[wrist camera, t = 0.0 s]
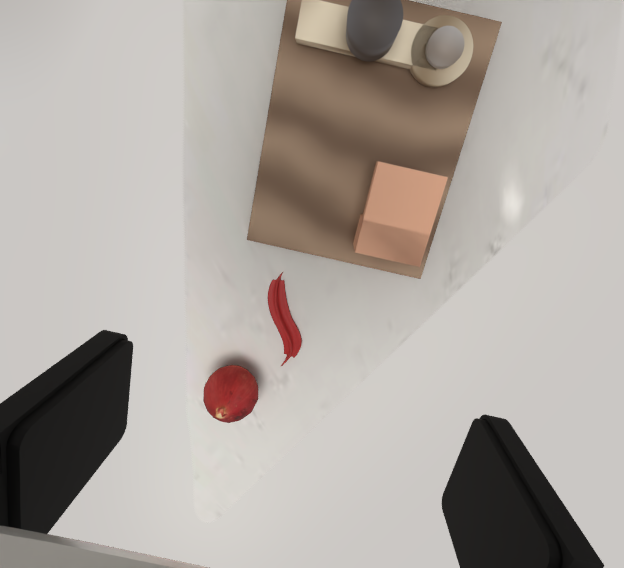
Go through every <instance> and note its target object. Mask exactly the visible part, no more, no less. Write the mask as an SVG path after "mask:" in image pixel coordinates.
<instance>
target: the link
mask: <svg viewBox="0 0 624 568" xmlns="http://www.w3.org/2000/svg"><path fill="white" fill-rule="evenodd" d="M443 26H453V27H456V28H457V29H459V30H460V32H461V33H462V35H463V37H464V50H463V53H462V55H461V56H460V58H459V59H458V60H457V61H456V62H455V63H454V64H452V65H451V66H450V67H448V68H445V69H437V68H435V67H433V66H431V65H430V64H429V62H428V61H427V58H426V54H425V49H426V44H427V42H428V40H429V38H430V37H431V36H432V34H433V33H434V32H435V31H436V30H437V29H439V28H441V27H443ZM295 39H296V42H297V43H298V44H302V45H306V46H311V47H315V48H319V49H324V50H328V51H332V52H337V53H341V54H345V55H350V56H354V57H357V58H358V59H360V60H362V61H367V62H371V61H376V62H380V63H384V64H389V65H393V66H397V67H402V68H406V69H410V72H411V74H412V75H413V77H414V78H415V79H416V80H417V81H418V82H419V83H420V84H422V85H424V86H427V87H432V88H437V87H442V86H445V85H447V84H449V83H451V82H452V81H454V80H455V79H457V78H458V77H459V76H460V75H461V74H462V73H463V72H464V71H465V70H466V68H467V67H468V65H469V63H470V61H471V58H472V54H473V38H472V35H471V32H470V30H469V28H468V27H467V25H466V24H465V23H464V22H463V21H461V20H460V19H458V18H456V17H454V16H449V15H442V16H437V17H434V18H432V19H430V20H429V21H427V22H426V23H425V24H420V23H416V22H411V21H407V20H403V6H402V3H401V0H352V1H351V3H350V5H349V7H347V6H342V5H338V4H334V3H329V2H325V1H321V0H302V2H301V8H300V13H299V19H298V24H297V30H296V36H295Z"/></svg>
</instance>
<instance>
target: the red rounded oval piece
mask: <svg viewBox="0 0 624 568" xmlns="http://www.w3.org/2000/svg"><path fill="white" fill-rule="evenodd" d="M257 400H258V385H257V382H256V380H255V378H254V376H253V375H252V374H251V373H250V372H249V371H248V370H247V369H245V368H243V367H241V366H235V365H230V366H226V367H222V368H219V369H218V370H217V371H215V372H214V373H213V374H212V375H211V376H210V377H209V379H208V381H207V383H206V384H205V387H204V404H205V406H206V409H207V411H208V412H209V413H210V414H211V415H212V416H213V418H215V419H217V420H219V421H222V422H227V423H230V422H235V421H239V420H241V419H243V418H244V417H245V416H247V415H248V414H250V413H251V412H252V410H253V408H254V406H255V404H256V402H257Z"/></svg>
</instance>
